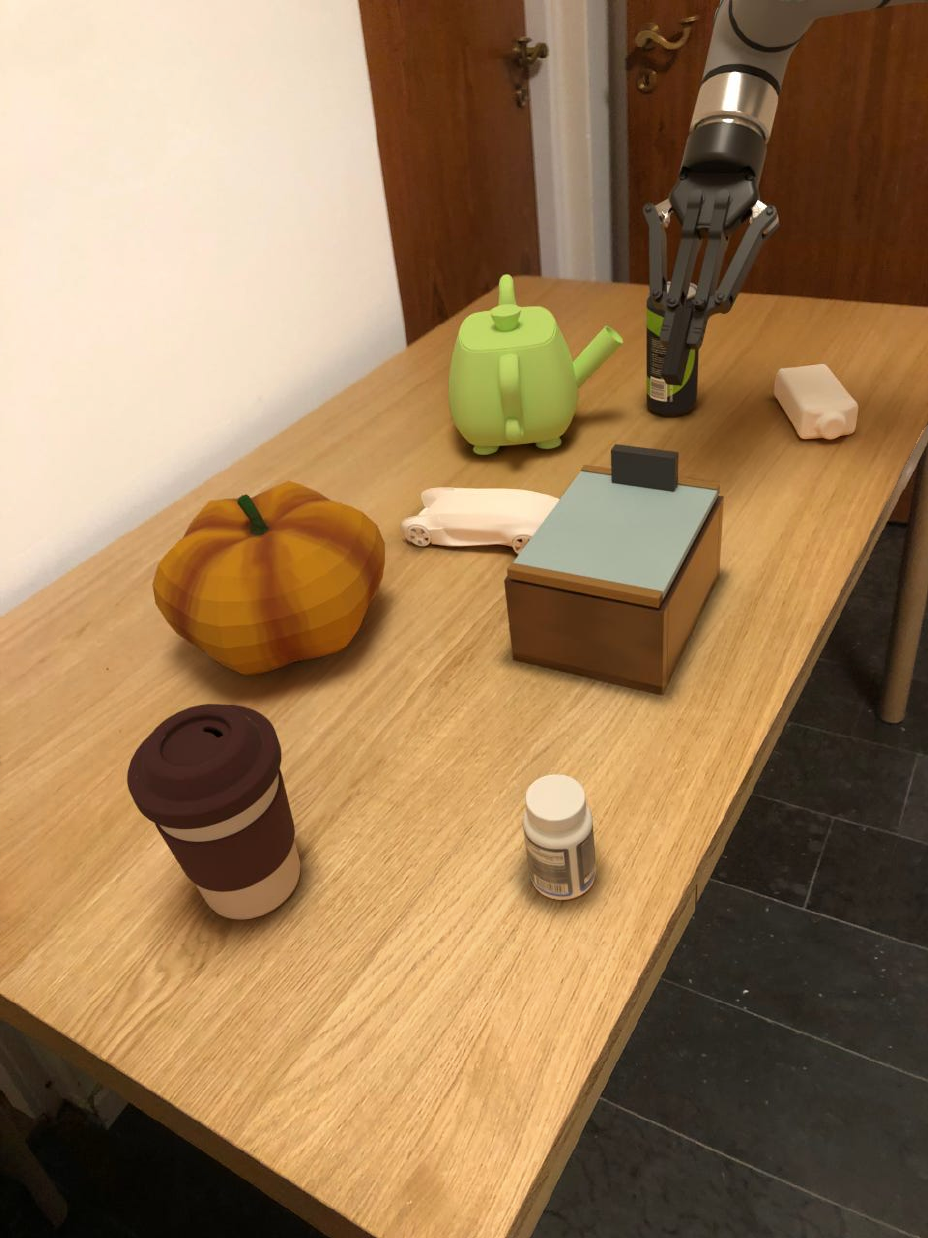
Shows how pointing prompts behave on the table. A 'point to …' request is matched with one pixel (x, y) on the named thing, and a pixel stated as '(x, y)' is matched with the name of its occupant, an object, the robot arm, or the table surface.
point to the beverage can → (657, 391)
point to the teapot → (518, 375)
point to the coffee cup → (221, 805)
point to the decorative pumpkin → (271, 578)
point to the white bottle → (816, 402)
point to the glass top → (619, 529)
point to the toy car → (478, 517)
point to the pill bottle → (559, 837)
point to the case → (616, 621)
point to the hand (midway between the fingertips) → (671, 379)
